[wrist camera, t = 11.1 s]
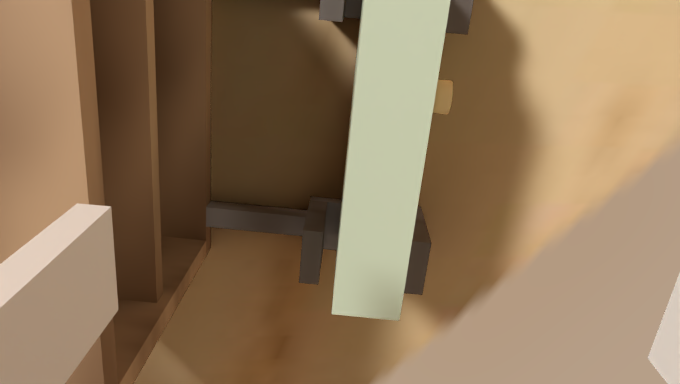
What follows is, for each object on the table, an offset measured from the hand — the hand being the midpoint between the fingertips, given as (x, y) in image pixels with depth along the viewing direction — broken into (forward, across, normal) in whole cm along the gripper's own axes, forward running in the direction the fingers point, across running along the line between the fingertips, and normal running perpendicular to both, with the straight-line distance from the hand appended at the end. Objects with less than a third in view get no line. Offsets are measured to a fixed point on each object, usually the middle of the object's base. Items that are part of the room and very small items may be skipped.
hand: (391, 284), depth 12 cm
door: (+17, 0, 0) cm, 17 cm away
